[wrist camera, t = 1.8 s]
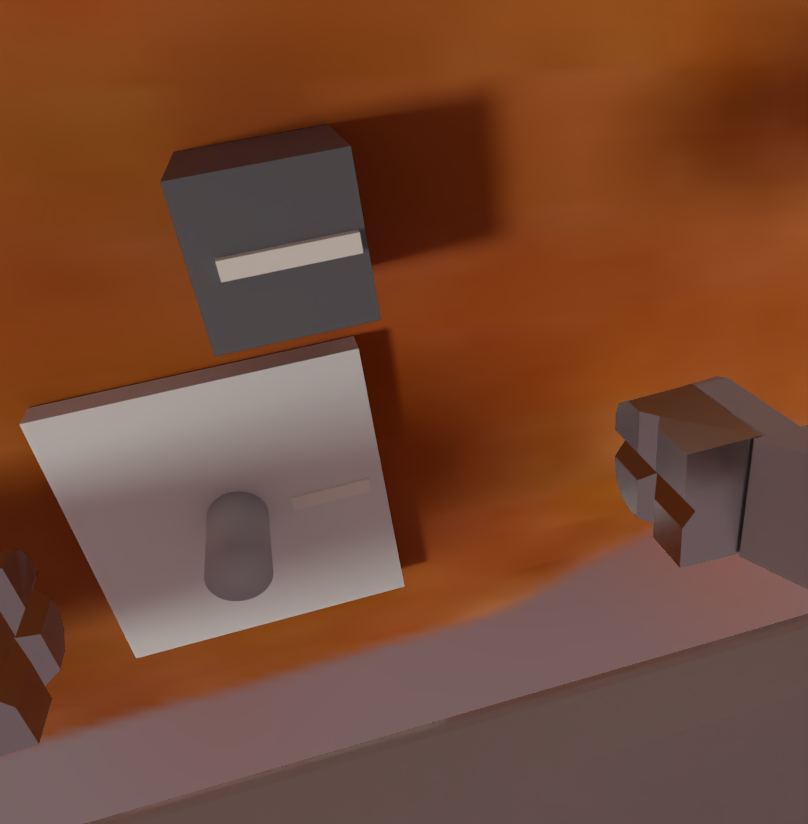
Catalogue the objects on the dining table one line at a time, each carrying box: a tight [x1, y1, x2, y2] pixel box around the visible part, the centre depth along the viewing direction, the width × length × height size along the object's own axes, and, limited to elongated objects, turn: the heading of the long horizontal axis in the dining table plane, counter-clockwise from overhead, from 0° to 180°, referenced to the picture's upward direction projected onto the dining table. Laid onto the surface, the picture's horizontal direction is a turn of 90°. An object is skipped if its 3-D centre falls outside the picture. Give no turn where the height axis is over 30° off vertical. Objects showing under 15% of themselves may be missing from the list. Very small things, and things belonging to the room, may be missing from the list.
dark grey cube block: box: [160, 124, 381, 356], centre depth 21 cm, size 5×5×5 cm
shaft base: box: [19, 336, 405, 658], centre depth 27 cm, size 12×12×5 cm
